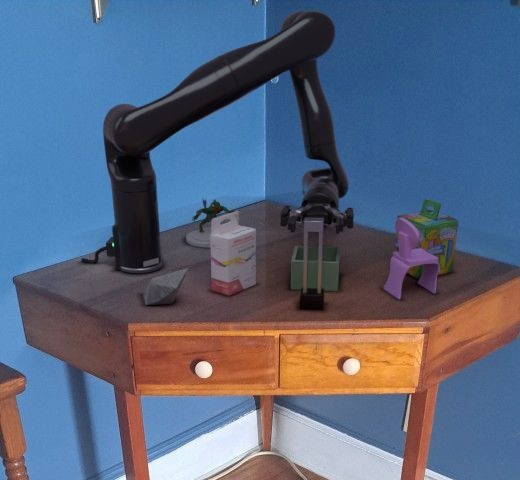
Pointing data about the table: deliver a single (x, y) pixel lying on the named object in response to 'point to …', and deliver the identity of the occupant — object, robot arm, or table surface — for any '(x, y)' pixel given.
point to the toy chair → (410, 260)
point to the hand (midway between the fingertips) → (315, 228)
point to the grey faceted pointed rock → (164, 288)
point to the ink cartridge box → (232, 255)
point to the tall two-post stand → (308, 296)
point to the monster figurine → (203, 234)
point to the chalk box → (433, 236)
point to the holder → (316, 268)
